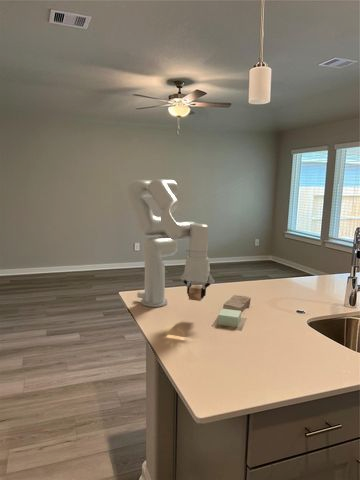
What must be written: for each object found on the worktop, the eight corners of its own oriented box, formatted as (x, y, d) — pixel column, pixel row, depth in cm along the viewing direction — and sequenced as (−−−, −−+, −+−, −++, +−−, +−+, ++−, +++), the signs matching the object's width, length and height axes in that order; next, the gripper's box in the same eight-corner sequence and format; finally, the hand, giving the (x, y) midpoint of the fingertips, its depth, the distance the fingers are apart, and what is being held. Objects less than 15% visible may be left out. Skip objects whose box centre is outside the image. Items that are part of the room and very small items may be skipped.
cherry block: (188, 299, 150) (189, 287, 149) (192, 295, 155) (192, 284, 154) (200, 301, 148) (200, 289, 148) (203, 297, 153) (203, 286, 152)
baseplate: (211, 328, 143) (211, 326, 143) (218, 316, 156) (218, 314, 156) (241, 333, 140) (241, 330, 139) (246, 320, 153) (246, 318, 153)
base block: (217, 324, 145) (218, 314, 145) (222, 317, 153) (222, 308, 152) (237, 327, 143) (238, 317, 142) (240, 320, 150) (241, 310, 150)
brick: (239, 316, 158) (240, 306, 157) (221, 313, 162) (222, 303, 161) (250, 306, 172) (251, 296, 172) (233, 303, 176) (234, 294, 176)
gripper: (175, 253, 147) (174, 296, 150) (216, 258, 142) (213, 302, 145) (181, 250, 154) (179, 291, 157) (220, 254, 149) (218, 296, 152)
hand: (196, 296), depth 151 cm, fingers closed on cherry block, 4 cm apart
